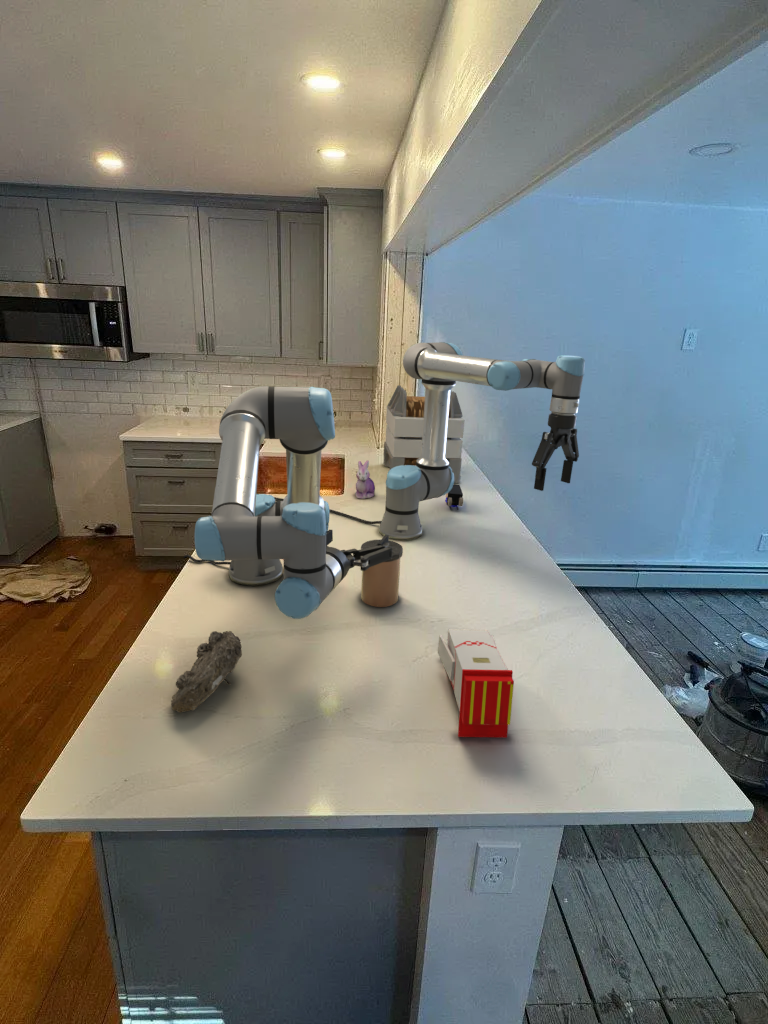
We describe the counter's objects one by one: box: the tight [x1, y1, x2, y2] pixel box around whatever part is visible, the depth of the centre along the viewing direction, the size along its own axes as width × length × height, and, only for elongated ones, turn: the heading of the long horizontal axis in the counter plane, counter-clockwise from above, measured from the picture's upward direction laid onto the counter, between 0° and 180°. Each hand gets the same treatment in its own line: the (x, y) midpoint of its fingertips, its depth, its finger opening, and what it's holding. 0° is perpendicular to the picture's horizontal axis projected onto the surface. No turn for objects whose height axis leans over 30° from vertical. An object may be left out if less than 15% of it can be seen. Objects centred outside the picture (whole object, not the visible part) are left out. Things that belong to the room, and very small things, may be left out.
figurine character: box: [444, 483, 464, 511], centre depth 230 cm, size 7×8×15 cm
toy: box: [437, 628, 515, 738], centre depth 117 cm, size 12×13×30 cm
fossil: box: [170, 630, 243, 713], centre depth 116 cm, size 22×10×15 cm
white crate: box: [383, 384, 465, 484], centre depth 268 cm, size 34×33×41 cm
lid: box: [360, 539, 404, 562], centre depth 150 cm, size 11×11×2 cm
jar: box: [360, 558, 401, 608], centre depth 153 cm, size 10×10×15 cm
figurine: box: [354, 460, 376, 500], centre depth 236 cm, size 9×10×15 cm
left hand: (358, 537), depth 131 cm, fingers open, 13 cm apart
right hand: (552, 485), depth 166 cm, fingers open, 13 cm apart
